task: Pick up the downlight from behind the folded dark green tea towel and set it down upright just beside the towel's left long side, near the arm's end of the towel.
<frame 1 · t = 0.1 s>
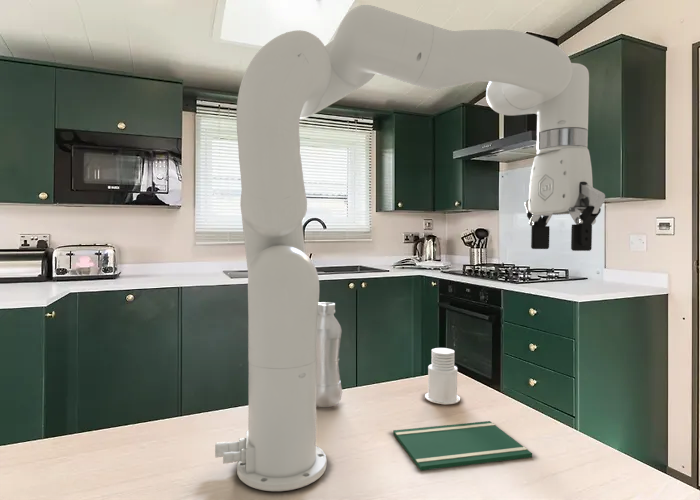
hand: (559, 249, 72), 31 cm above the table, tool pointing down, fingers open, 9 cm apart
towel: (458, 444, 70), on the table
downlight: (442, 400, 90), on the table
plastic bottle: (324, 405, 87), on the table
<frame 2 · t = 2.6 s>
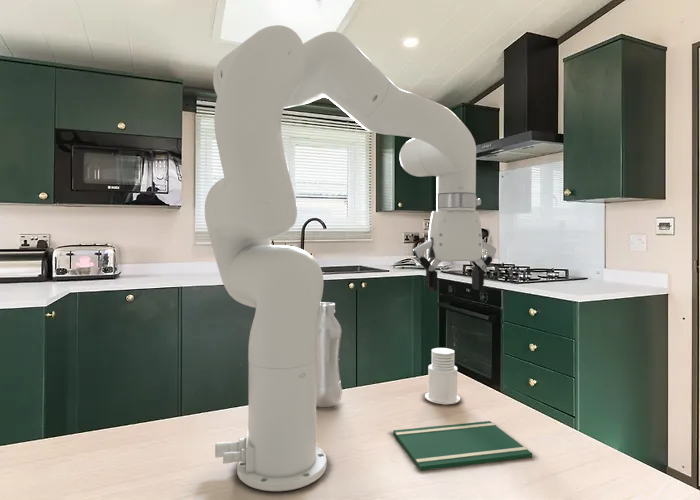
hand: (455, 290, 88), 23 cm above the table, tool pointing down, fingers open, 9 cm apart
nothing on the table moved.
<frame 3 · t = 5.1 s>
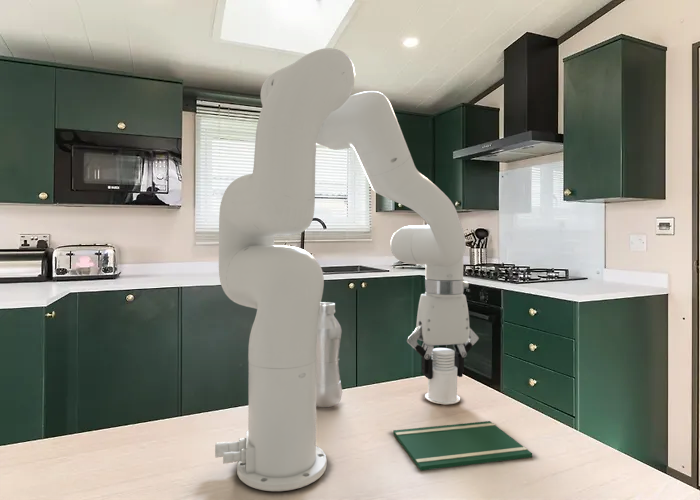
hand: (442, 375, 90), 5 cm above the table, tool pointing down, fingers closed on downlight, 5 cm apart
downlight: (442, 400, 90), on the table, touching gripper
everything else where it was.
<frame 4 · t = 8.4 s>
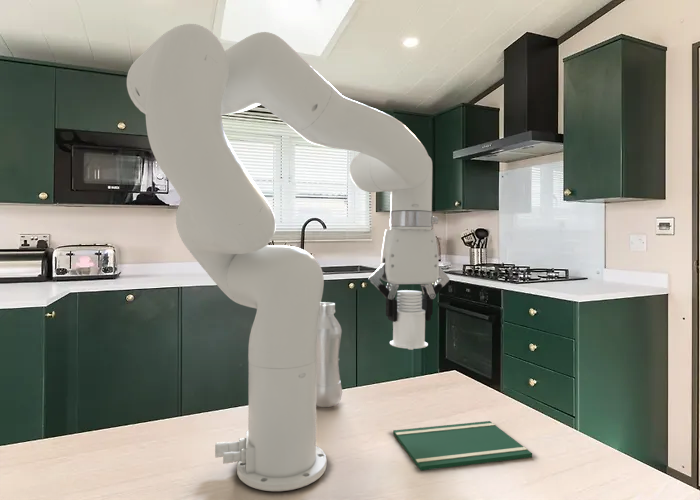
hand: (409, 319, 81), 18 cm above the table, tool pointing down, fingers closed on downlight, 5 cm apart
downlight: (408, 346, 81), point 13 cm above the table, touching gripper
everything else where it was.
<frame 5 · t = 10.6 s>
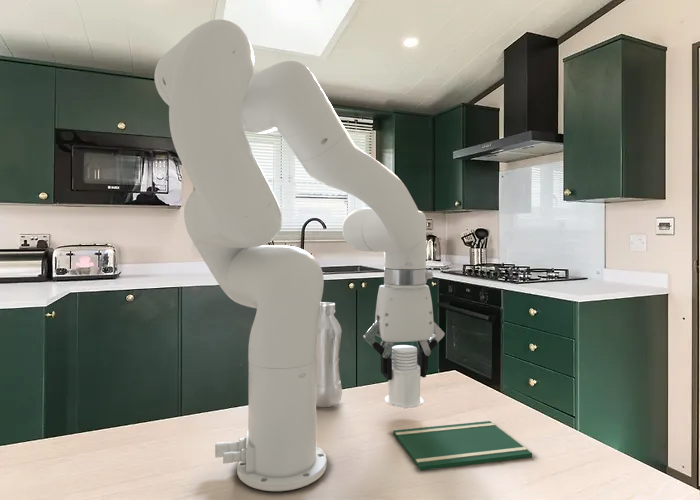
hand: (404, 375, 81), 8 cm above the table, tool pointing down, fingers closed on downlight, 5 cm apart
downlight: (404, 403, 81), point 3 cm above the table, touching gripper
everything else where it was.
when the fingers open (5 cm above the table, at t = 11.9 s): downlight stays where it is, on the table.
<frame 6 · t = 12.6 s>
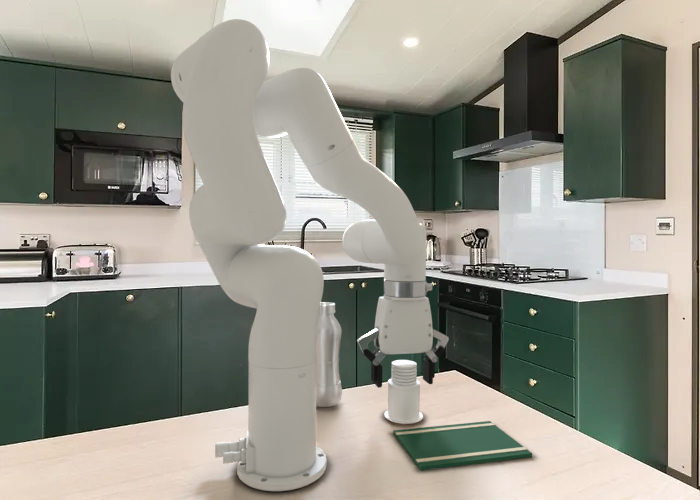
hand: (402, 383, 80), 6 cm above the table, tool pointing down, fingers open, 9 cm apart
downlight: (403, 418, 81), on the table
everything else where it was.
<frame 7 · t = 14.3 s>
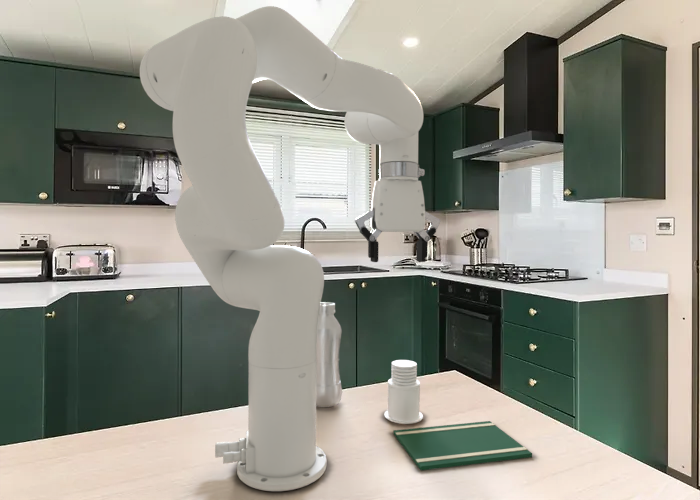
hand: (397, 261, 87), 28 cm above the table, tool pointing down, fingers open, 9 cm apart
nothing on the table moved.
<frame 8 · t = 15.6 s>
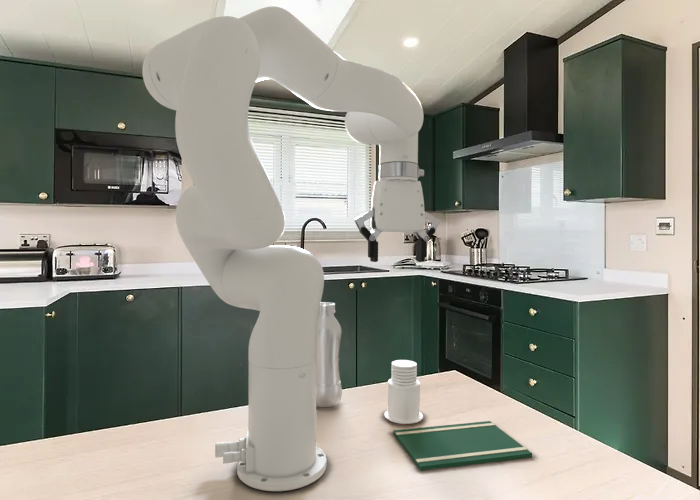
hand: (397, 261, 87), 28 cm above the table, tool pointing down, fingers open, 9 cm apart
nothing on the table moved.
at the end: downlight inside the target area (0.8 cm from its centre), on the table; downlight tilted 0°; the gripper is holding nothing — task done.
